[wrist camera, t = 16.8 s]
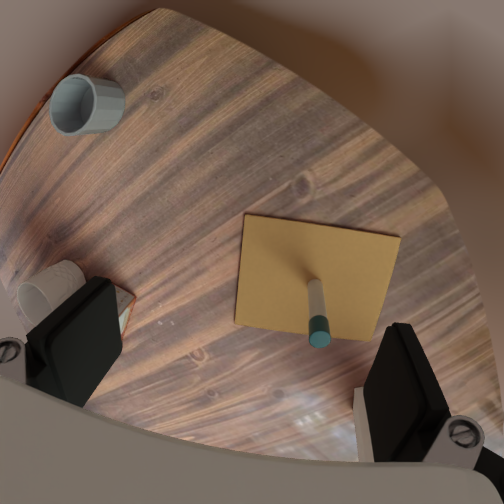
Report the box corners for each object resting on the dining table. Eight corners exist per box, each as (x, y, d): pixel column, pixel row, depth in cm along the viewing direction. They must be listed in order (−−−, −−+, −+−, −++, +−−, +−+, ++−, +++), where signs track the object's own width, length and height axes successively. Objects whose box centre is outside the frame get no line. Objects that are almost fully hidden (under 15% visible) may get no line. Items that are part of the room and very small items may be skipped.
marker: (308, 277, 42) (311, 329, 31) (324, 279, 42) (333, 332, 30) (305, 292, 43) (307, 347, 31) (321, 294, 42) (328, 349, 31)
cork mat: (245, 213, 40) (245, 214, 40) (400, 237, 39) (401, 238, 38) (235, 322, 46) (234, 324, 46) (370, 340, 44) (370, 341, 44)
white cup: (94, 273, 47) (57, 303, 37) (83, 307, 49) (50, 339, 40) (58, 247, 46) (19, 271, 37) (50, 282, 49) (15, 309, 39)
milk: (354, 387, 48) (368, 503, 28) (389, 382, 47) (416, 494, 27) (352, 410, 50) (362, 519, 30) (385, 406, 49) (405, 512, 29)
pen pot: (82, 81, 36) (51, 78, 30) (127, 77, 35) (99, 70, 29) (79, 133, 39) (47, 137, 32) (123, 132, 38) (94, 135, 32)
